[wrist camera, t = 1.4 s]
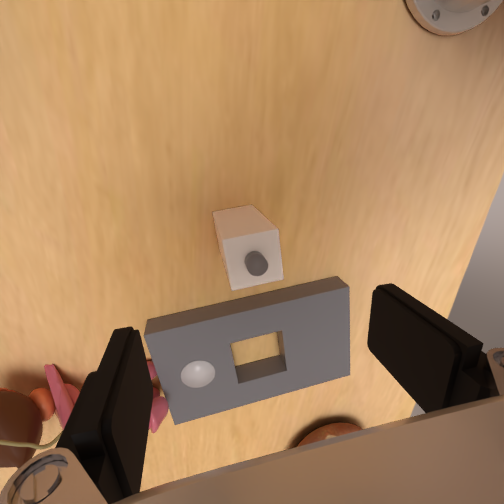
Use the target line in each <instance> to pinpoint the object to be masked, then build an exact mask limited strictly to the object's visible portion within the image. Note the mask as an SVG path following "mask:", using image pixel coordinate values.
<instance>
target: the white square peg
mask: <svg viewBox="0 0 504 504" xmlns="http://www.w3.org/2000/svg"><path fill="white" fill-rule="evenodd" d="M212 214H213V219H214V224H215V229H216V234H217V239H218V244H219V250H220V253H221V256H222V260H223V263H224V267H225V270H226V273H227V277H228V280H229V284H230V287H231V290H232V291H234V290H238V289H243V288H247V287H252V286H256V285H260V284H265V283H269V282H274V281H278V280H283V279H284V277H283V267H282V258H281V249H280V239H279V230H278V228H277V227H276V226H275V225H274V224H273V223H272V222H270V221H269V220H268V219H267V218H266V217H265V216H264V215H263V214H262V213H261V212H259V211H258V210H257V209H256V208H255V207H254V206H253V205H246V206H241V207H236V208H230V209H225V210H219V211H214V212H212Z"/></svg>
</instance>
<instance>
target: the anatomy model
mask: <svg viewBox="0 0 504 504" xmlns="http://www.w3.org/2000/svg"><path fill="white" fill-rule="evenodd" d="M147 365H148V369H149V373H150V377H151V380H152V379H153V378H155V377H156V376H157V372H156V369H155V366H154V363H153V361H148V362H147ZM44 368H45V372H46V376H47V380H48V383H49V386H50V389H51V390H48V389H46V388H37V389H35V390H33V391H32V392H31V393H30V394H29V396H28V397H27V396H25V395H23V394H21V393H18V392H16V391H14V390H8V389H6V388H0V467H17V468H18V469H19V468H20V467H21V466H22V465H24V464H25V463H26V462H27V461H28V460H30V459H31V458H32V457H33V455H34V453H35V451H36V449H45V448H48V447H50V446H52V445H53V444H54V443H56V442H57V441H58V440H59V439H60V436H61V434H62V432H63V431H62V432H61V433H60V434H59V435H58V436H57V437H56V438H55V439H54V440H53V441H52V442H50V443H48V444H46V445H39V443H40V439H41V436H42V430H43V424H42V422H43V421H47V420H49V419H50V418H51V417H52V416H53V414H54V413H55V414H56V415H57V417H58V419H59V422H60V425H61V427H62V429H63V430H64V427H65V425H66V423H67V421H68V418H69V416H70V414H71V412H72V409H73V407H74V405H75V403H76V400H77V398H78V396H79V394H80V391H79V390H78V389H77V388H76V387H75V386H73V385H71V384H64V383H63V381H62V378H61V376H60V374H59V373H58V371H57V369H56V368H55V366H54V365H53V364H52V365H45V366H44ZM168 409H169V404H168V401H167V400H166V399H165V398H164V397H162V396H160V392H159V390H158V389H157V388H155V387H153V402H152V409H151V416H150V423H149V429H151V432H152V433H155V432H156V431H157V430H158V428H159V426H160V424H161V423H162V421H163V420H164V418H165V417H166V415H167V413H168Z"/></svg>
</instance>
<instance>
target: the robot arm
mask: <svg viewBox="0 0 504 504" xmlns="http://www.w3.org/2000/svg"><path fill="white" fill-rule="evenodd" d="M502 2H503V0H406V3H407V6H408V8H409V10H410V11H411V13H412V15H413V16H414V18H415V19H416V20H417V21H418V22H419V23H420V25H421V26H422V27H424V28H425V29H427V30H428V31H430V32H432V33H435V34H438V35H449V36H451V35H455V34H460V33H463V32H465V31H467V30H470V29H472V28H474V27H476V26H477V25H479V24H481V23H482V22H484V21H485V20H486V19H487V18H488V17H489V16H490V15H492V14H493V13H494V12H495V10H496V9H497V8H498V7H499V5H500V4H501V3H502ZM367 344H368V348H369V350H370V351H371V352H372V354H373V355H374V356H375V357H376V358H377V359H378V360H379V361H380V362H381V364H382V365H383V366H384V367H385V368H386V369H387V370H388V371H389V372H390V374H391V375H392V376H393V377H394V378H395V379H396V380H397V381H398V383H399V384H400V385H401V386H402V387H403V388H404V389H405V390H406V391H407V393H408V394H409V395H410V396H411V397H412V398H413V399H414V400H415V401H416V403H417V404H418V405H419V406H420V407H421V408H422V409H423V410H424V411H425V414H421V415H418V416H414V417H410V418H406V419H402V420H398V421H394V422H390V423H386V424H382V425H379V426H375V427H371V428H367V429H363V430H360V431H356V432H352V433H348V434H344V435H340V436H337V437H333V438H329V439H325V440H322V441H318V442H314V443H310V444H306V445H303V446H299V447H295V448H291V449H288V450H284V451H280V452H277V453H273V454H269V455H266V456H262V457H258V458H254V459H251V460H247V461H243V462H240V463H236V464H232V465H228V466H225V467H221V468H218V469H214V470H211V471H207V472H204V473H200V474H197V475H193V476H190V477H186V478H183V479H180V480H176V481H173V482H169V483H166V484H163V485H160V486H157V487H154V488H151V489H148V490H145V491H142V492H140V486H141V479H142V472H143V465H144V458H145V451H146V444H147V437H148V430H149V423H150V416H151V409H152V402H153V385H152V381H151V377H150V373H149V369H148V365H147V360H146V356H145V352H144V348H143V344H142V340H141V336H140V332H139V330H134V329H133V327H126V328H120V329H115V330H114V331H113V334H112V336H111V338H110V341H109V343H108V346H107V348H106V351H105V353H104V355H103V358H102V360H101V363H100V365H99V367H98V370H97V371H95V372H91V373H90V374H89V375H88V376H87V378H86V380H85V383H84V385H83V387H82V389H81V391H80V394H79V396H78V398H77V400H76V403H75V405H74V407H73V409H72V412H71V414H70V416H69V418H68V421H67V423H66V425H65V427H64V430H63V432H62V434H61V436H60V439H59V441H58V443H57V445H56V447H55V448H54V449H49V450H47V451H44V452H42V453H40V454H38V455H36V456H35V457H33V458H31V459H30V460H28V461H27V462H26V463H25V464H24V465H22V466H21V467H20V468H19V469H18V470H17V471H16V472H15V473H14V474H13V475H12V476H11V478H10V479H9V480H8V481H7V483H6V485H5V486H4V488H3V490H2V491H1V494H0V504H504V348H493V349H490V350H489V351H488V352H487V354H485V353H484V352H482V351H481V350H482V347H483V343H482V342H480V341H479V340H477V339H476V338H474V337H473V336H471V335H470V334H468V333H467V332H465V331H464V330H462V329H461V328H459V327H458V326H456V325H455V324H453V323H452V322H450V321H449V320H447V319H446V318H444V317H443V316H441V315H440V314H438V313H437V312H435V311H434V310H432V309H431V308H429V307H427V306H426V305H424V304H423V303H421V302H420V301H418V300H417V299H415V298H414V297H412V296H411V295H409V294H408V293H406V292H405V291H403V290H402V289H400V288H399V287H397V286H396V285H394V284H392V283H391V284H384V285H378V286H377V287H376V289H375V290H374V291H373V294H372V304H371V313H370V322H369V332H368V341H367Z"/></svg>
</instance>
